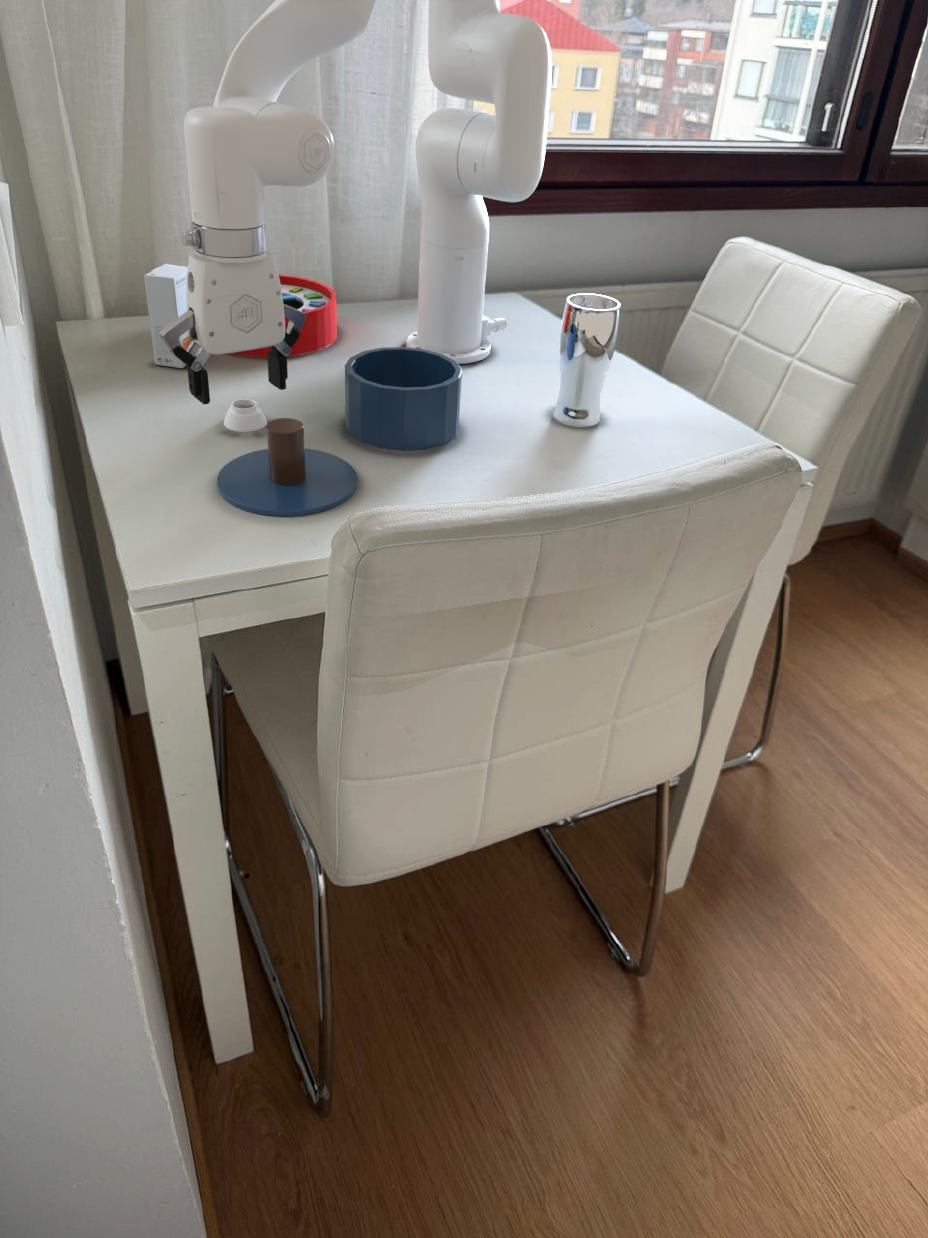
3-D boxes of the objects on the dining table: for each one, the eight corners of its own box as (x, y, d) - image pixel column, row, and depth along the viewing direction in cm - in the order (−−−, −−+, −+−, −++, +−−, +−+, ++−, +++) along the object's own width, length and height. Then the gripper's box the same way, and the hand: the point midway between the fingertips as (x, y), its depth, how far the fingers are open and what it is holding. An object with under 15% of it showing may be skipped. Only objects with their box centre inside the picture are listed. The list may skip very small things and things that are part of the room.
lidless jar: (275, 426, 111) (246, 414, 113) (274, 403, 109) (244, 392, 112) (244, 439, 108) (215, 426, 110) (242, 416, 106) (213, 403, 108)
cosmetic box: (183, 369, 124) (173, 278, 117) (154, 365, 124) (141, 274, 117) (203, 354, 129) (193, 266, 122) (174, 350, 129) (163, 262, 122)
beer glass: (607, 413, 121) (627, 298, 112) (596, 433, 116) (615, 314, 107) (557, 403, 123) (572, 289, 114) (543, 422, 117) (558, 304, 109)
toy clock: (226, 323, 122) (177, 281, 136) (230, 365, 126) (182, 320, 139) (360, 306, 132) (302, 268, 145) (360, 346, 135) (303, 306, 148)
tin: (415, 400, 120) (417, 340, 116) (479, 439, 112) (484, 376, 107) (325, 421, 113) (324, 358, 109) (386, 464, 105) (387, 398, 100)
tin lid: (313, 446, 107) (311, 387, 103) (383, 498, 98) (384, 437, 94) (194, 475, 100) (187, 413, 96) (258, 535, 91) (253, 470, 86)
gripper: (166, 256, 91) (183, 418, 101) (318, 241, 100) (320, 391, 110) (137, 238, 96) (156, 394, 105) (285, 225, 105) (290, 370, 115)
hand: (240, 392), depth 108 cm, fingers open, 9 cm apart
